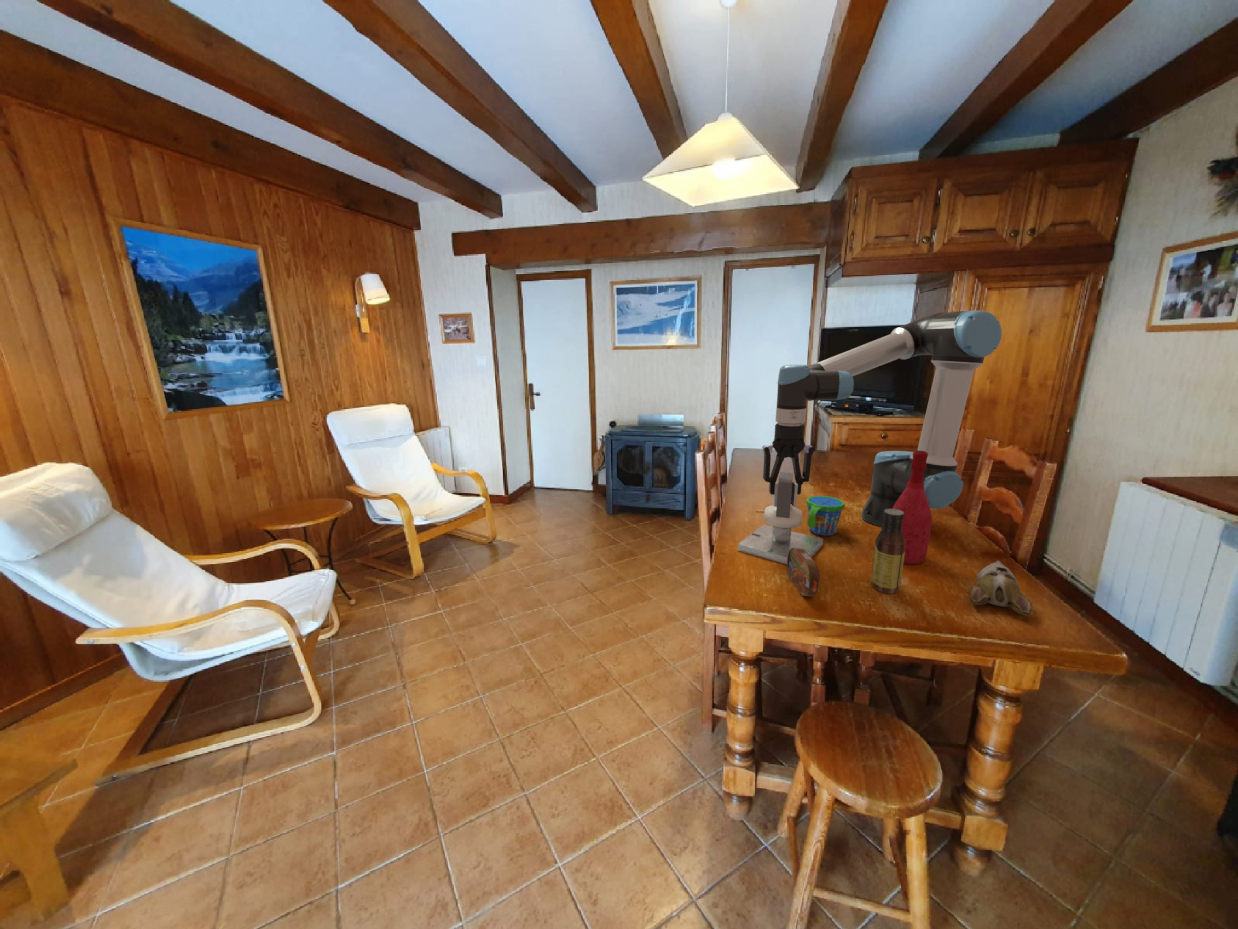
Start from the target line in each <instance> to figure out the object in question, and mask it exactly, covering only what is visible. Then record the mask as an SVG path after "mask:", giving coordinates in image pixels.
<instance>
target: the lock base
mask: <svg viewBox="0 0 1238 929" xmlns="http://www.w3.org/2000/svg"><path fill="white" fill-rule="evenodd" d="M823 542H824V538H821V537H818V536H812V535H808V534H805V533H801V532H796V531H792V528H781V527H776V526H772V525H768V524H767V525H766V524H762V525H761V526H760V527H758V528H757V529H756V530H754V531H753V532H752V533H750V534H749V535H748V536H747V537H746V538H744V539H743V540H741V541H740V542H739V543H737V551H738V552H742V553H745V554H748V555H751V556H755V557H759V558H762V559H766V560H769V561H774V562H777V563H781V564H785V565H787V559H788V553H789V551H790V549H791V548H799V549H804V550H805V551H806V552H807V554H808V555H809V556H810V557H811V558H812V557H813V556H814V555H816V553H817V552H818V551H819V549H820V548H821V547H823Z"/></svg>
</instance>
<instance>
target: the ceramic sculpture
mask: <svg viewBox="0 0 1238 929" xmlns="http://www.w3.org/2000/svg"><path fill="white" fill-rule="evenodd" d="M976 580H977V583H978V584H976V585H973V586H971V587H970V590H969V600H970V602H972V604H973V605H976V606H977V605H978V606H980V605H981V606H982V605H986V604H990V605H993V606H998V607H1003V608H1007V607H1008V608H1009V607H1011V610H1013V612H1015V613H1017V614H1019V615H1021V616H1025V617H1028V618H1029V617H1030V616H1031V612H1032V604H1031V602H1030V600H1029V598H1028V597H1027V596H1025V595H1023V594H1022V591H1021V588H1020V584H1019V582H1018V580H1017V578H1016V577H1015V575H1014V573H1013V572H1012V571H1011V570H1010V569H1009V568H1008V567H1007V566H1006V565H1005V564H1003V563H1002V561H1000V560H996V561H995V562H993V563H990V564H988V565H987V566H985V567H984V568H982V569H981V570H980V571H979V572H978V573H977V574H976Z"/></svg>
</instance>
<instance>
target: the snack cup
mask: <svg viewBox="0 0 1238 929" xmlns="http://www.w3.org/2000/svg"><path fill="white" fill-rule="evenodd" d="M805 504H806V505H807V514H808V518H807V520H806V524H807V526H808V528H809V531H811V533H814V534H815V535H819V536H820V535H821V536H829V537H830V536H832V535H835V534H836V532H837V528H838V525H839V522H840V518H841V514H842V511H843V510H844V508H845V506H846V505H845V502H844V501H843V500H841V499H839V498H837V497H834V496H825V495H814V496H813V495H812V496H809V497H808V498H807V499H806V501H805Z"/></svg>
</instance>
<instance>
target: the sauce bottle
mask: <svg viewBox="0 0 1238 929" xmlns="http://www.w3.org/2000/svg"><path fill="white" fill-rule="evenodd" d="M883 516H884V522H883V527H881V530H880V531H879V534H878V535H877V537H876V538H875V540H874V549H873V558H872V567H871V577H870V580H871V582H870V583H871V586H872V587H873V588H874V590H877V591H879V592H880V593H885V594H896V593H898V592H899V591H900V586H901V585H902V577H903V572H904V571H903V570H904V564H905V563H904V555H905V544H906V542H905V538H904V535H903V534H902V532H901V530H902V520H903V518H904V512H903V511H901V510H897V509H885V510H884V514H883Z"/></svg>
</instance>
